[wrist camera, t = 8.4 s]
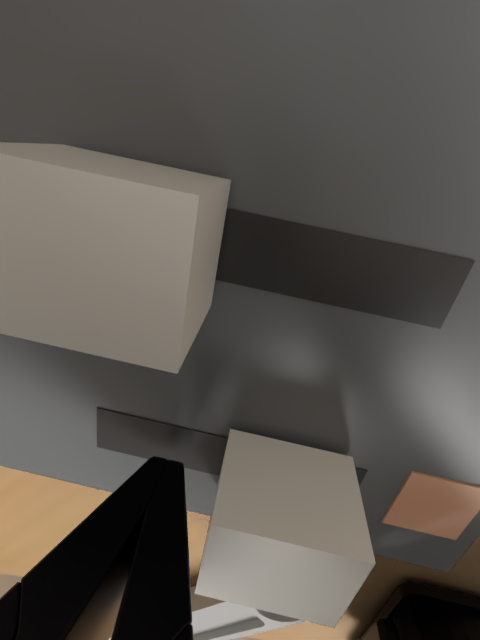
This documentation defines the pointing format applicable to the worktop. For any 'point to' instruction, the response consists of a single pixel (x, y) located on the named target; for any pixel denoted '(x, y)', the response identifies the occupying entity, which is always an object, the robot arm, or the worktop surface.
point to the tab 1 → (107, 252)
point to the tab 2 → (286, 531)
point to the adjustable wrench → (230, 619)
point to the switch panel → (277, 245)
